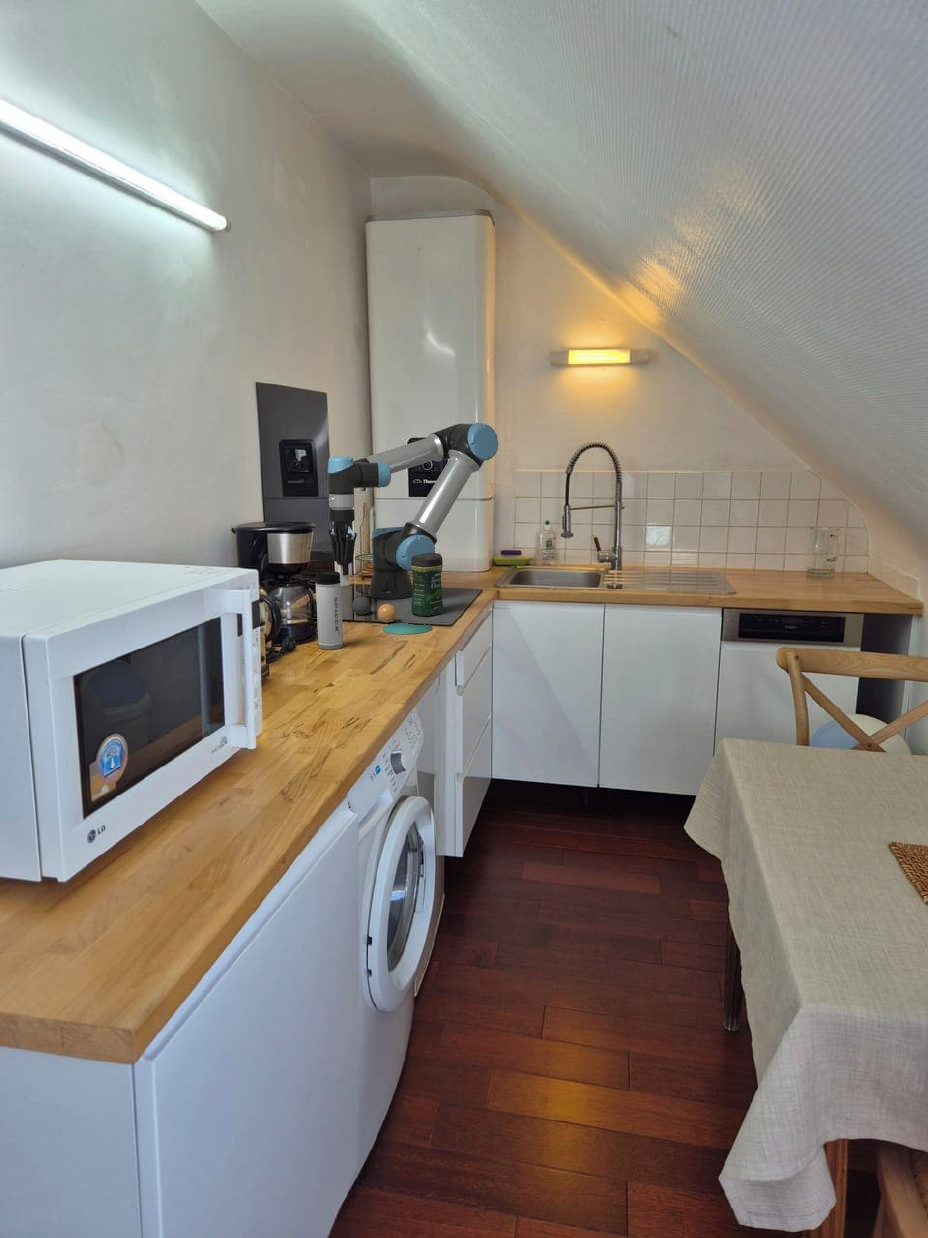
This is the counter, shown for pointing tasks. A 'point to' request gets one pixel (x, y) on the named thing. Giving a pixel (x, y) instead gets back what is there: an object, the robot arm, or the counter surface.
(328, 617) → the travel mug
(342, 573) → the robot arm
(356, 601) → the dark gray ball
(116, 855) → the counter surface
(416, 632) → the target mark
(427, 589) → the coffee jar
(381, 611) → the orange ball
